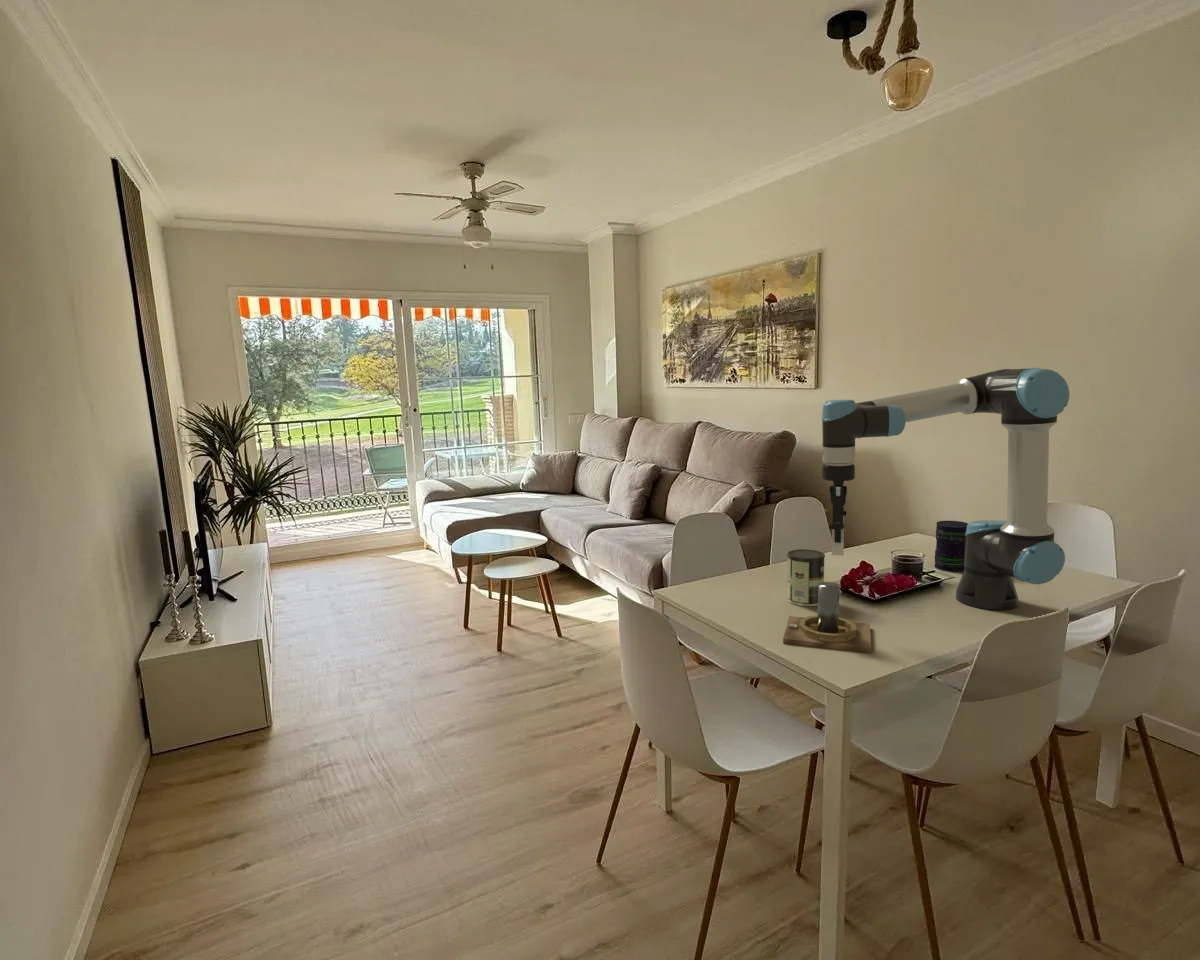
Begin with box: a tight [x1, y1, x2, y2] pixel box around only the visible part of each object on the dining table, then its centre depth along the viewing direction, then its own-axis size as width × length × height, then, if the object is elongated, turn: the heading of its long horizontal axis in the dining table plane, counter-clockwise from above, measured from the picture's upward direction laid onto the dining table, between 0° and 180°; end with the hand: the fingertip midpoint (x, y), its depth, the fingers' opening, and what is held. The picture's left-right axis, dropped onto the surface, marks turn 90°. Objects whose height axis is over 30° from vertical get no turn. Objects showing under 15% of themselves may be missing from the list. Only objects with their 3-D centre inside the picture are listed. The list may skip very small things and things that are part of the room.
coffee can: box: [786, 548, 826, 607], centre depth 189 cm, size 10×10×14 cm
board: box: [782, 614, 872, 654], centre depth 164 cm, size 20×16×3 cm
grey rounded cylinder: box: [811, 581, 845, 634], centre depth 163 cm, size 5×8×12 cm, turn 69°
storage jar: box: [933, 520, 969, 573], centre depth 215 cm, size 10×10×15 cm
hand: (837, 547), depth 163 cm, fingers open, 13 cm apart
